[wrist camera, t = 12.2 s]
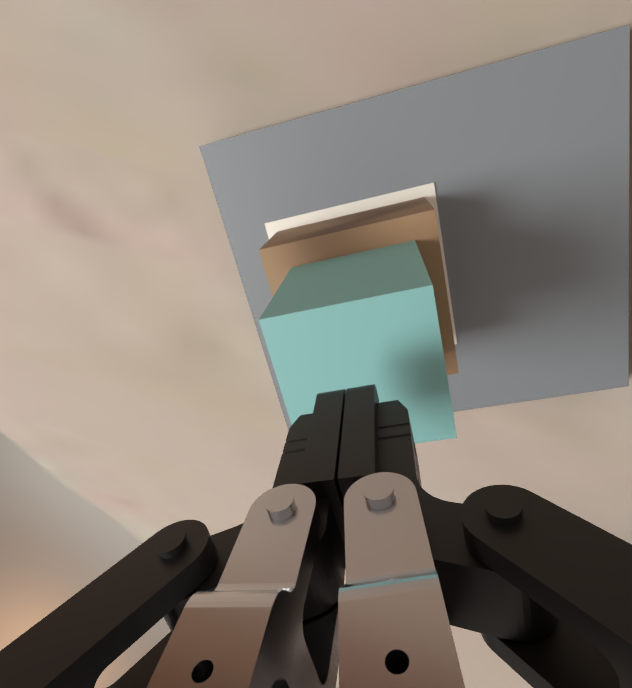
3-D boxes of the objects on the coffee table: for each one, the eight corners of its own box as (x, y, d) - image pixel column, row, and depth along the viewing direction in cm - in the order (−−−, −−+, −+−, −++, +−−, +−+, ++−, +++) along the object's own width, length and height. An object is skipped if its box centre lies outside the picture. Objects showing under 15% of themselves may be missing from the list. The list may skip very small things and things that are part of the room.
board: (615, 30, 19) (631, 23, 18) (617, 375, 25) (629, 386, 24) (207, 145, 23) (198, 146, 22) (293, 424, 29) (289, 436, 27)
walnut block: (424, 196, 21) (434, 209, 18) (445, 336, 24) (458, 373, 20) (277, 231, 23) (258, 249, 19) (312, 360, 25) (302, 398, 22)
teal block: (414, 240, 18) (432, 285, 13) (434, 355, 20) (457, 437, 15) (291, 267, 19) (258, 319, 14) (320, 374, 21) (302, 458, 16)
